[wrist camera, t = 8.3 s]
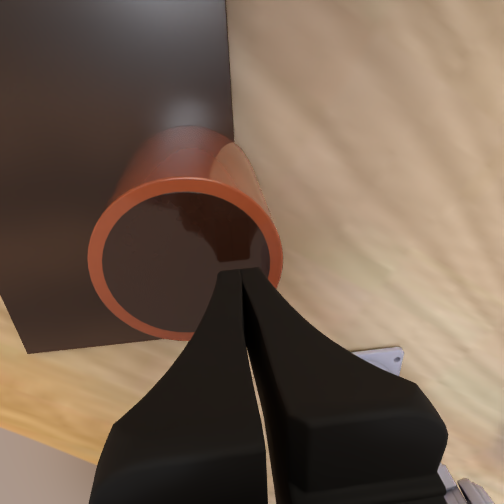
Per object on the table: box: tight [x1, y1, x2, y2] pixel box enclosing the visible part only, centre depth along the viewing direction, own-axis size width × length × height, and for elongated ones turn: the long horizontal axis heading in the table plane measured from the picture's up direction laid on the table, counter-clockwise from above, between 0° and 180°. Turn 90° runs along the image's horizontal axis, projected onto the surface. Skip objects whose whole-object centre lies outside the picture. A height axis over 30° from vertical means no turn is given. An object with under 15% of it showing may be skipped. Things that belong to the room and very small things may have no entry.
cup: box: [87, 126, 283, 341], centre depth 17 cm, size 8×7×7 cm
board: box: [0, 0, 234, 354], centre depth 20 cm, size 20×14×1 cm
